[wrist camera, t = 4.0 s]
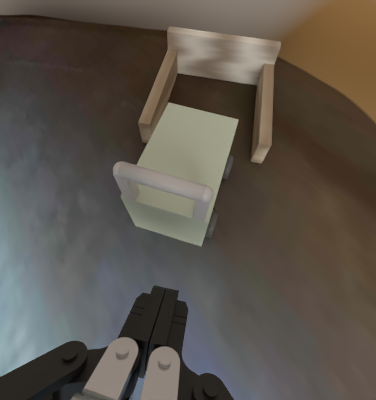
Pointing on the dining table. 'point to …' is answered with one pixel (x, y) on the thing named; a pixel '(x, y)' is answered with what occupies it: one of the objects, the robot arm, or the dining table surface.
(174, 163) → the sage trolley
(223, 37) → the birch bay
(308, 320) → the dining table surface
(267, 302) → the dining table surface
